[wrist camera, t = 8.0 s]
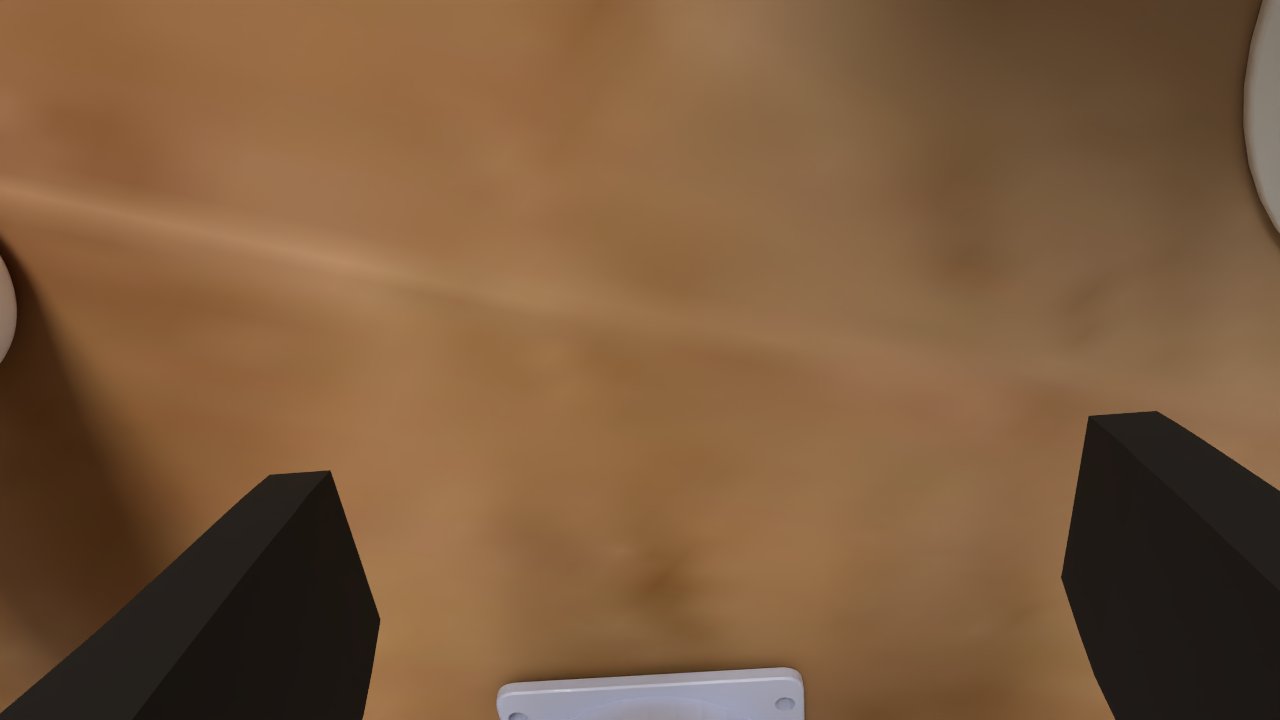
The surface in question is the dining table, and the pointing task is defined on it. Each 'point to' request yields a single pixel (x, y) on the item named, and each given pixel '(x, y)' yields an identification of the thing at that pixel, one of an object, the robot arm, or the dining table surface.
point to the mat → (1264, 108)
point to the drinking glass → (6, 310)
